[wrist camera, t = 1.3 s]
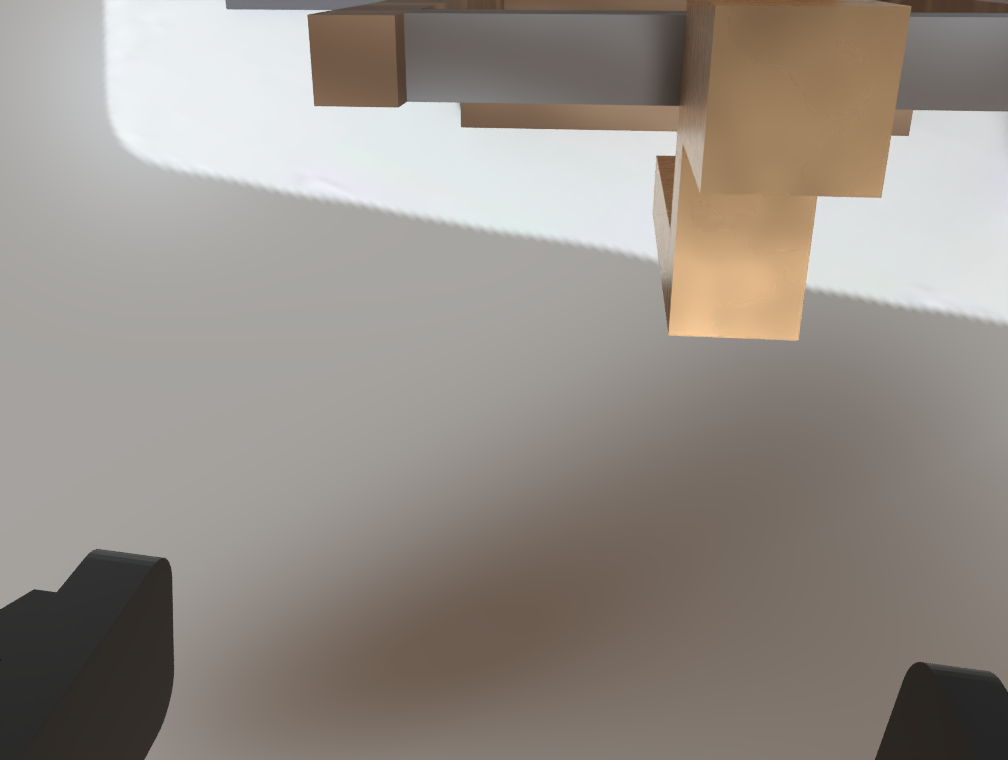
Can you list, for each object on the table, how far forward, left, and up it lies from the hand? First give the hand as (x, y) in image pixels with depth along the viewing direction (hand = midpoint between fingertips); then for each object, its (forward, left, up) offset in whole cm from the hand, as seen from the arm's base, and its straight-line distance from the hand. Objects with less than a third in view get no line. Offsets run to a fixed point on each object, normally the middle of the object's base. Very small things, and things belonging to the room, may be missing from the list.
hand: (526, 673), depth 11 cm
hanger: (-5, +4, -25) cm, 26 cm away
